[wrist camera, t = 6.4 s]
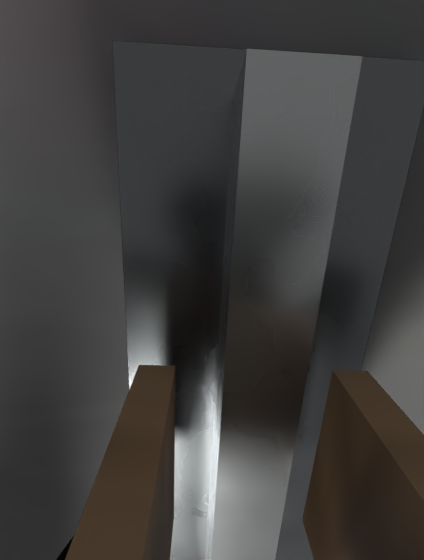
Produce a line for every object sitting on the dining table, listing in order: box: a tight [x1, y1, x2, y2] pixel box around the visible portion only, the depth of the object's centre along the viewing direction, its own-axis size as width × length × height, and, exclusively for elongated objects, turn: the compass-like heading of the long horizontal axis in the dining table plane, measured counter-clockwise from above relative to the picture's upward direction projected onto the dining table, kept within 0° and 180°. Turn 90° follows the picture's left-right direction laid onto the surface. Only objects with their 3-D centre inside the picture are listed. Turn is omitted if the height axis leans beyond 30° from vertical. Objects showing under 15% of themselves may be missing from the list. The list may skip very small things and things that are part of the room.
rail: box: [112, 41, 424, 560], centre depth 9 cm, size 22×8×3 cm, turn 177°
